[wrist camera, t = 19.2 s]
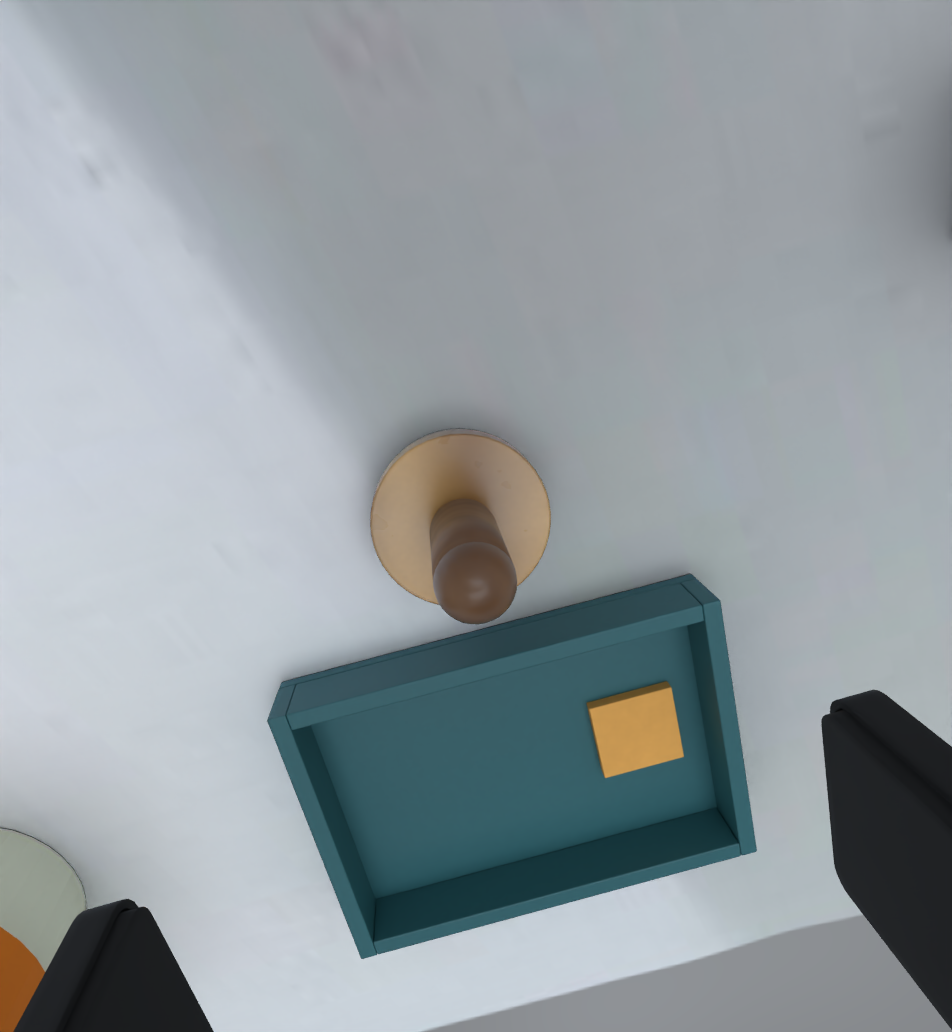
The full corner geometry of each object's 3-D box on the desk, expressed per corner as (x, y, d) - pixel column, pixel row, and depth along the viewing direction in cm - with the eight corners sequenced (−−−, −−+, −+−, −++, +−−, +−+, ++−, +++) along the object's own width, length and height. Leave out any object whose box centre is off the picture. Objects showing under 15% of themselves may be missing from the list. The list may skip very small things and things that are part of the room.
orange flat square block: (601, 770, 33) (605, 778, 32) (585, 702, 32) (589, 709, 31) (679, 749, 33) (684, 757, 32) (667, 680, 32) (671, 687, 31)
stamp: (399, 600, 30) (392, 732, 20) (353, 447, 28) (321, 514, 18) (553, 560, 30) (619, 673, 20) (519, 405, 28) (575, 449, 18)
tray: (365, 904, 34) (361, 959, 32) (281, 681, 30) (266, 720, 28) (728, 806, 35) (757, 852, 32) (691, 573, 31) (720, 600, 28)
